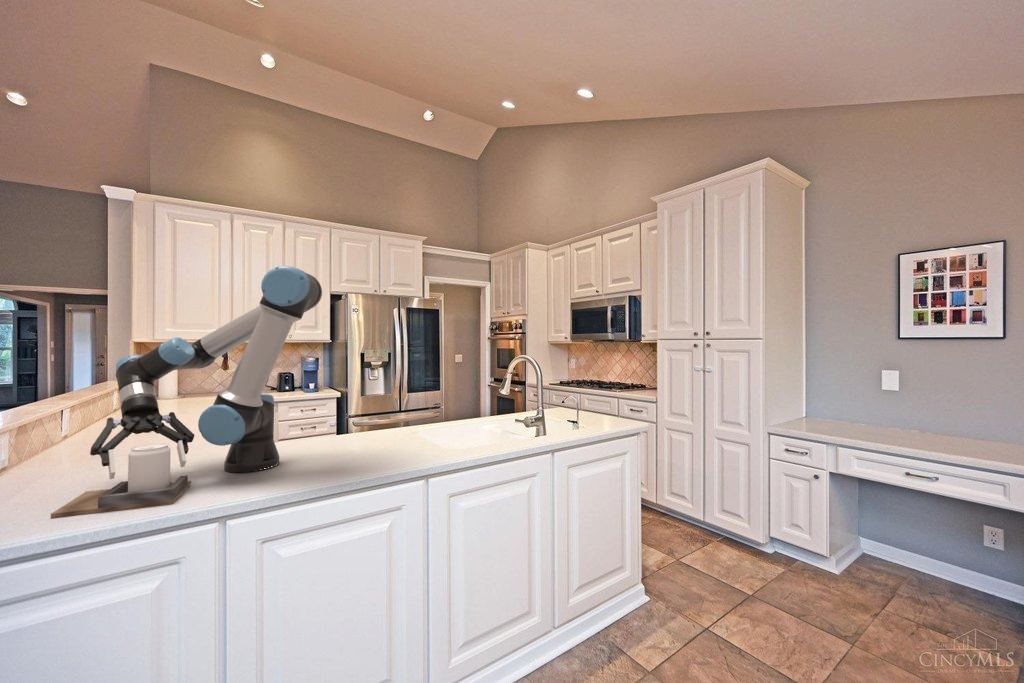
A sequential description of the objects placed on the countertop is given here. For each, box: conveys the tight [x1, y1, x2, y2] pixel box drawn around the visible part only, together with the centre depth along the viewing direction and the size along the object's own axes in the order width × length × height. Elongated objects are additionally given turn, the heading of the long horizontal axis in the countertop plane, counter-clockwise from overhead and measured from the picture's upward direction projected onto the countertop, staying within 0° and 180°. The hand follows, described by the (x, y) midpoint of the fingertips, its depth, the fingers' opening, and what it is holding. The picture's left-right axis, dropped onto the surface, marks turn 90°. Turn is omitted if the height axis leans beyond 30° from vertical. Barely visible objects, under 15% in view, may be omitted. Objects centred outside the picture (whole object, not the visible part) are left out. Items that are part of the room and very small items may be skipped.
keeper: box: [50, 474, 192, 519], centre depth 107 cm, size 22×16×4 cm
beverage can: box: [127, 442, 171, 492], centre depth 108 cm, size 8×8×12 cm
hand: (149, 469), depth 106 cm, fingers open, 13 cm apart
